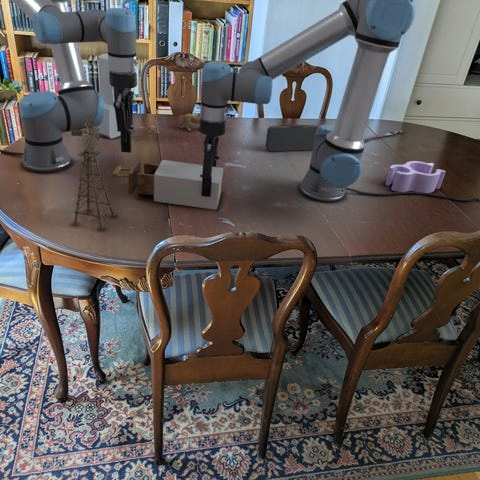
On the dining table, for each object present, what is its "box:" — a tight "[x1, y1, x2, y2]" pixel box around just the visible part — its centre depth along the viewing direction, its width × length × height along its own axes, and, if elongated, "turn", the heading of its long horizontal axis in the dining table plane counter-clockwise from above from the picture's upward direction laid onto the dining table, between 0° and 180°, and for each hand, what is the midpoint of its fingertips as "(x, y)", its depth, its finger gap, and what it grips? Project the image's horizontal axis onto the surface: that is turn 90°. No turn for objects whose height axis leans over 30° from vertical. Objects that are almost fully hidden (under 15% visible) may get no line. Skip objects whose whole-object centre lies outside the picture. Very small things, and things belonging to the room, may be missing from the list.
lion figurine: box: [177, 112, 201, 132], centre depth 198 cm, size 15×5×9 cm, turn 110°
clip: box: [385, 160, 447, 194], centre depth 170 cm, size 20×12×7 cm, turn 109°
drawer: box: [111, 159, 160, 196], centre depth 146 cm, size 24×10×7 cm, turn 86°
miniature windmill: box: [70, 116, 115, 230], centre depth 124 cm, size 9×8×30 cm
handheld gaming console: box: [264, 124, 320, 152], centre depth 189 cm, size 23×3×10 cm, turn 108°
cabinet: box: [153, 159, 224, 211], centre depth 146 cm, size 20×11×9 cm, turn 86°
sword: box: [362, 130, 405, 143], centre depth 214 cm, size 31×3×1 cm, turn 126°
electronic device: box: [96, 53, 121, 139], centre depth 180 cm, size 12×8×30 cm, turn 148°
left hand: (126, 151), depth 141 cm, fingers closed
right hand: (208, 187), depth 146 cm, fingers open, 11 cm apart
